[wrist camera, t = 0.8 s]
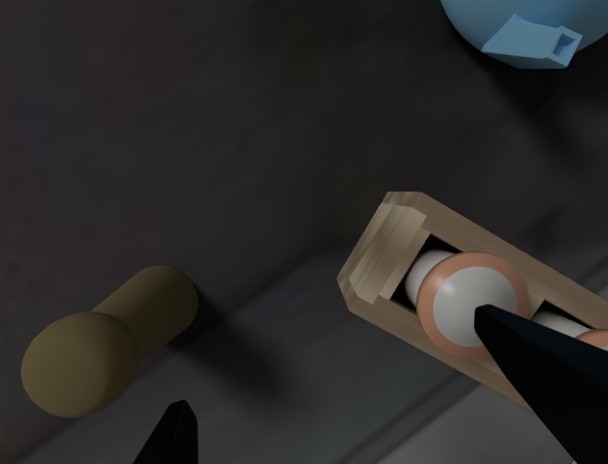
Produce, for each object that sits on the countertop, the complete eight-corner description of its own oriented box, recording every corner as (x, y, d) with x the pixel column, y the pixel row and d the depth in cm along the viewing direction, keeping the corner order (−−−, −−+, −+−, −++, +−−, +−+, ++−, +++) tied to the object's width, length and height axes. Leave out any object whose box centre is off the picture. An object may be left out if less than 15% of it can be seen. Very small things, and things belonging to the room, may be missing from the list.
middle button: (545, 388, 21) (620, 448, 16) (480, 351, 21) (536, 402, 16) (591, 323, 21) (683, 364, 16) (525, 284, 20) (598, 315, 15)
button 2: (444, 331, 21) (489, 376, 16) (375, 293, 20) (399, 327, 15) (489, 263, 20) (550, 287, 15) (419, 222, 20) (458, 233, 15)
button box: (576, 411, 27) (670, 486, 20) (336, 278, 26) (349, 310, 19) (632, 334, 26) (750, 385, 20) (387, 191, 25) (421, 192, 18)
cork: (187, 257, 25) (100, 308, 15) (207, 327, 26) (139, 425, 15) (114, 274, 26) (-25, 337, 15) (136, 343, 26) (19, 451, 15)
